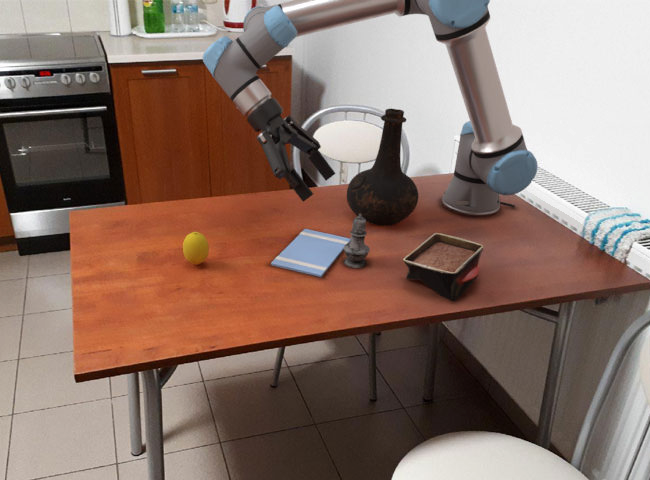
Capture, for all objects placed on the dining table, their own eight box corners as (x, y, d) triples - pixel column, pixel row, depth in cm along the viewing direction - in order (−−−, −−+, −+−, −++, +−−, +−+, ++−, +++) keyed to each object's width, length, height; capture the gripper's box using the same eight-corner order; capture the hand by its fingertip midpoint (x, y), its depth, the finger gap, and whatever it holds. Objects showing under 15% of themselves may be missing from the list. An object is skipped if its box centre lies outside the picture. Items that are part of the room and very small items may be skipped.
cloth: (270, 265, 141) (270, 262, 141) (304, 230, 157) (305, 228, 156) (321, 277, 137) (321, 274, 137) (351, 240, 153) (351, 238, 153)
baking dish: (390, 289, 138) (395, 252, 131) (433, 251, 148) (440, 215, 141) (449, 319, 131) (458, 281, 124) (490, 277, 141) (500, 240, 134)
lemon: (198, 256, 143) (197, 224, 139) (214, 265, 140) (213, 232, 136) (178, 264, 140) (176, 231, 136) (194, 273, 137) (192, 239, 132)
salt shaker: (367, 270, 141) (372, 220, 134) (340, 266, 142) (345, 217, 135) (369, 258, 146) (375, 209, 139) (343, 254, 146) (348, 206, 140)
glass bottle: (336, 207, 170) (345, 100, 155) (398, 203, 174) (413, 98, 159) (357, 236, 155) (369, 121, 141) (425, 231, 159) (444, 119, 144)
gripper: (271, 104, 147) (327, 178, 150) (220, 133, 128) (285, 216, 131) (294, 84, 143) (351, 160, 146) (243, 110, 123) (310, 197, 126)
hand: (320, 187), depth 138 cm, fingers open, 13 cm apart
